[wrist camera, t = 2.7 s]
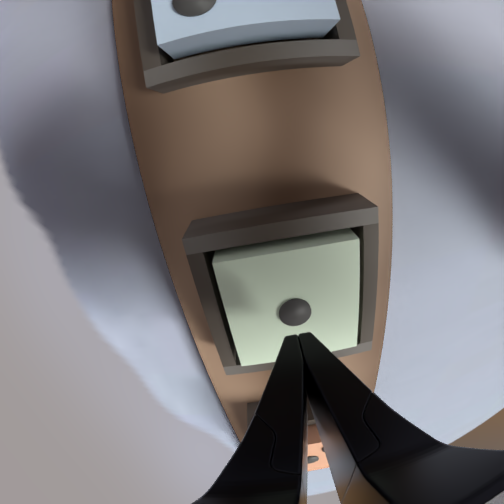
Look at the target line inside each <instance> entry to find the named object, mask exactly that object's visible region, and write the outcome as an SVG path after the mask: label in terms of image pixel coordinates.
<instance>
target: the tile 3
mask: <svg viewBox="0 0 504 504" xmlns="http://www.w3.org/2000/svg"><path fill="white" fill-rule="evenodd" d="M328 467H329V464H328V461H327V458H326V454H325V451H324V448H323V445H322V442H321V439H320V435H319V432H318V429H317V426H316V424H312V425H308V469H307V471H312V470H318V469H323V468H328Z"/></svg>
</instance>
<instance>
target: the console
mask: <svg viewBox="0 0 504 504" xmlns="http://www.w3.org/2000/svg"><path fill="white" fill-rule="evenodd" d="M335 2H336V5H337V9H338V12H339V16H340V20H339V21H338V23H337V24H336V25H335V26H334V27H333V28H332V29H331V30H330V31H329V32H328V33H327V34H326V35H325V36H324V37H323V38H300V39H286V40H275V41H266V42H258V43H251V44H244V45H238V46H232V47H227V48H221V49H216V50H212V51H207V52H202V53H198V54H194V55H190V56H186V57H182V58H179V59H175V60H174V59H173V58H172V57H171V56H170V55H169V54H167V53H166V52H165V51H164V50H163V49H162V48H160V47H159V46H158V45H157V39H156V33H155V26H154V19H153V12H152V5H151V0H112V10H113V21H114V31H115V40H116V48H117V55H118V62H119V69H120V76H121V82H122V88H123V94H124V99H125V105H126V110H127V115H128V120H129V125H130V130H131V134H132V139H133V143H134V148H135V152H136V157H137V161H138V165H139V169H140V173H141V177H142V181H143V185H144V189H145V192H146V196H147V200H148V203H149V207H150V211H151V214H152V218H153V221H154V224H155V228H156V231H157V234H158V238H159V241H160V244H161V247H162V251H163V254H164V257H165V260H166V263H167V266H168V269H169V272H170V275H171V278H172V281H173V284H174V287H175V290H176V292H177V295H178V298H179V301H180V304H181V306H182V309H183V312H184V314H185V317H186V320H187V322H188V325H189V328H190V330H191V333H192V335H193V338H194V340H195V343H196V345H197V348H198V350H199V353H200V355H201V358H202V360H203V363H204V365H205V367H206V370H207V372H208V374H209V377H210V379H211V381H212V384H213V386H214V388H215V390H216V393H217V395H218V397H219V399H220V401H221V404H222V406H223V408H224V410H225V412H226V414H227V416H228V418H229V421H230V423H231V425H232V427H233V429H234V431H235V433H236V435H237V437H238V439H239V441H240V443H241V441H242V439H243V437H244V435H245V433H246V431H247V429H248V427H249V425H250V423H251V420H252V418H253V416H254V415H255V411H256V409H257V406H258V404H259V401H260V399H261V397H262V394H263V392H264V389H265V387H266V384H267V382H268V379H269V377H270V374H271V371H272V369H273V366H274V364H275V362H270V363H263V364H256V365H248V366H241V363H240V360H239V356H238V353H237V350H236V347H235V343H234V340H233V336H232V333H231V330H230V326H229V323H228V319H227V316H226V312H225V309H224V305H223V301H222V298H221V294H220V291H219V287H218V283H217V280H216V276H215V272H214V268H213V265H212V262H213V258H214V254H215V250H219V249H225V248H231V247H237V246H243V245H249V244H254V243H260V242H266V241H272V240H278V239H284V238H290V237H296V236H302V235H308V234H314V233H320V232H326V231H333V230H339V229H345V228H350V229H351V230H352V231H353V232H354V233H355V234H356V236H357V237H358V238H359V241H360V289H359V317H358V335H357V346H355V347H350V348H346V349H342V350H337V351H332V353H333V354H334V355H335V356H336V357H337V358H338V359H339V360H340V361H341V362H342V363H343V364H344V365H345V366H346V367H347V368H349V369H350V370H351V371H352V372H353V373H354V374H355V375H356V376H357V377H358V378H359V379H360V380H361V381H362V382H363V383H364V384H365V385H366V386H367V387H368V388H369V389H371V390H372V393H373V392H374V389H375V385H376V380H377V375H378V369H379V364H380V358H381V352H382V346H383V340H384V333H385V325H386V317H387V308H388V299H389V288H390V275H391V257H392V177H391V160H390V148H389V137H388V127H387V119H386V111H385V104H384V97H383V91H382V85H381V79H380V74H379V69H378V64H377V59H376V54H375V50H374V45H373V41H372V37H371V33H370V29H369V25H368V22H367V18H366V15H365V11H364V8H363V4H362V1H361V0H335ZM306 393H307V392H306ZM307 421H308V425H312V424H316V423H315V420H314V416H313V413H312V410H311V407H310V404H309V400H308V397H307Z"/></svg>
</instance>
